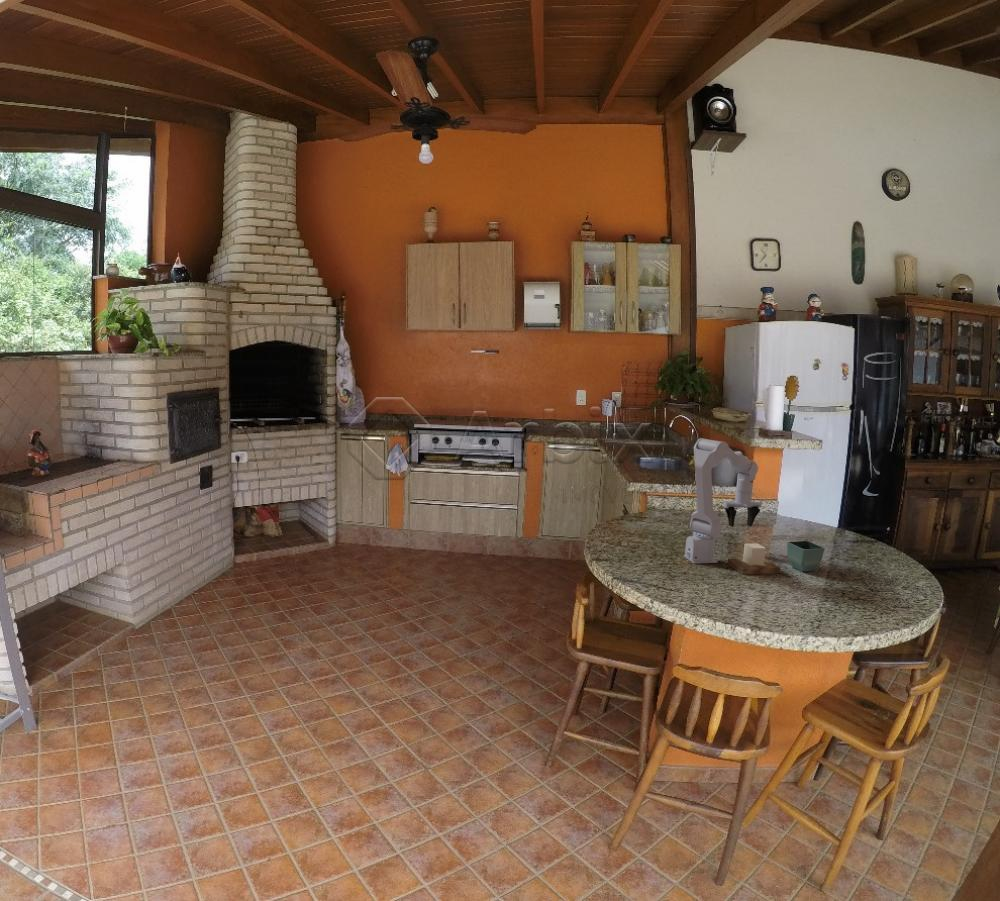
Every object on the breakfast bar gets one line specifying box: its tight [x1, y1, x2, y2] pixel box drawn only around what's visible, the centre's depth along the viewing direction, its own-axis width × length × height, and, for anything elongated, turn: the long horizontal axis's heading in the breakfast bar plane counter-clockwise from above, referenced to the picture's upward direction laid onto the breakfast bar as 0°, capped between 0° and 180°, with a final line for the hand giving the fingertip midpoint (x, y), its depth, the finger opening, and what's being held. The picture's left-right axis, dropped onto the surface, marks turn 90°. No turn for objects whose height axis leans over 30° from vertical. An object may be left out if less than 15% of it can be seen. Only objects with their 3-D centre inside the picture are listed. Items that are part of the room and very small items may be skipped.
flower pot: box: [786, 540, 826, 573], centre depth 222 cm, size 9×9×9 cm
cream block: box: [742, 542, 767, 565], centre depth 220 cm, size 5×5×6 cm
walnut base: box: [726, 557, 781, 575], centre depth 221 cm, size 14×10×2 cm
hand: (740, 525), depth 240 cm, fingers open, 7 cm apart
